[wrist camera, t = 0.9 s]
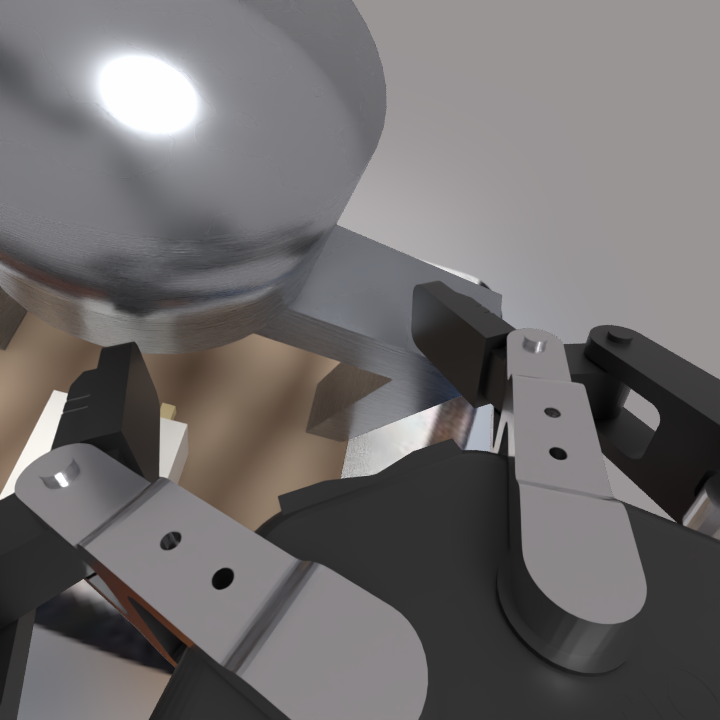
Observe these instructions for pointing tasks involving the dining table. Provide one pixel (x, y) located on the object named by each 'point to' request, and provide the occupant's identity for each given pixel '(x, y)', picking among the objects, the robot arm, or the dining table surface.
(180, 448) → the plug
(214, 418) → the track board
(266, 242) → the grey two-legged stand
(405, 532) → the robot arm
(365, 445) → the dining table surface
